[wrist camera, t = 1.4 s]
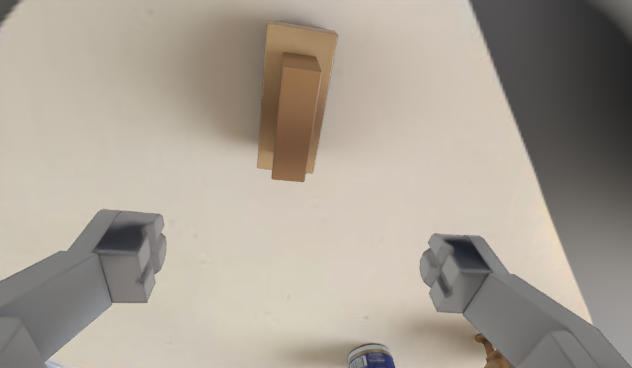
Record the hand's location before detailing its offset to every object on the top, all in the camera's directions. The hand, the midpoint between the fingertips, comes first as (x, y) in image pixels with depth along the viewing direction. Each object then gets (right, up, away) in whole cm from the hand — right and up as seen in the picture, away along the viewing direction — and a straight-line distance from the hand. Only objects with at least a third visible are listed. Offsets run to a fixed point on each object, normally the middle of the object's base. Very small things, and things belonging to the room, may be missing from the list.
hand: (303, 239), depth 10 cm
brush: (-1, +8, +11) cm, 13 cm away
